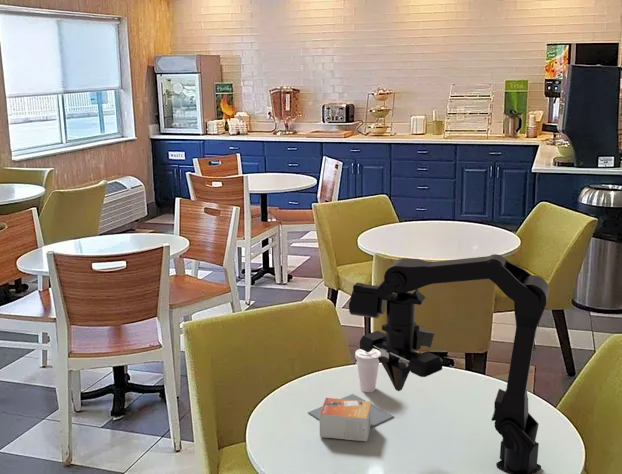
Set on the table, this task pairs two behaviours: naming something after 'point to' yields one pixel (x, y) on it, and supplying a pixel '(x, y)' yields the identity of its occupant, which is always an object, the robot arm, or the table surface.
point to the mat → (376, 413)
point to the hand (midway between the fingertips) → (398, 390)
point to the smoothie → (367, 368)
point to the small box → (345, 419)
